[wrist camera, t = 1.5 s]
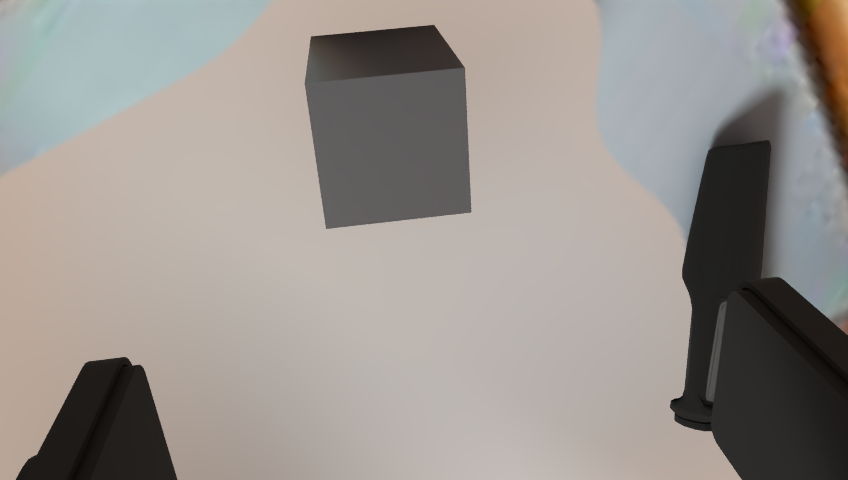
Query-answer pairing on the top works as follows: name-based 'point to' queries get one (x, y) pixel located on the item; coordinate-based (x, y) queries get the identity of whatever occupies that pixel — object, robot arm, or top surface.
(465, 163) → the block
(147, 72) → the top surface
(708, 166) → the electric trimmer
